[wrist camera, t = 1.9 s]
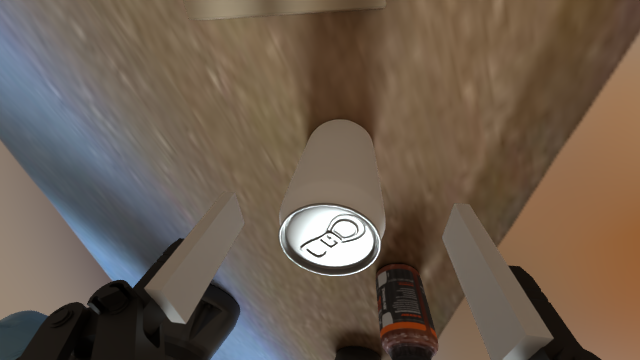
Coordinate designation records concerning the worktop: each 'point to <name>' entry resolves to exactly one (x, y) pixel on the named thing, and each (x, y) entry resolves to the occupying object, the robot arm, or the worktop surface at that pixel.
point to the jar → (356, 354)
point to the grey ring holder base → (271, 7)
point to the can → (334, 203)
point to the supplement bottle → (404, 314)
